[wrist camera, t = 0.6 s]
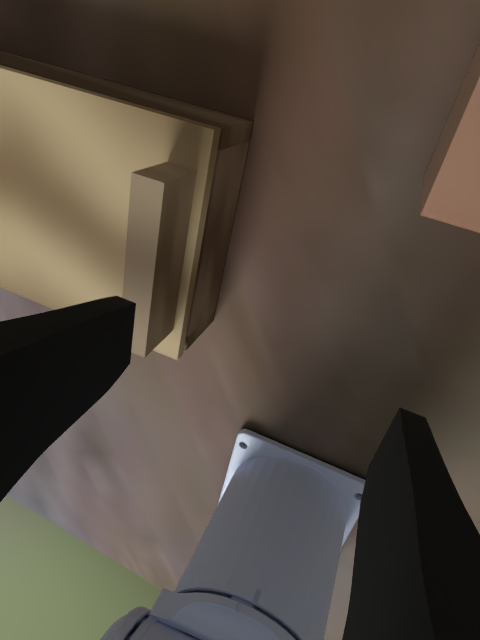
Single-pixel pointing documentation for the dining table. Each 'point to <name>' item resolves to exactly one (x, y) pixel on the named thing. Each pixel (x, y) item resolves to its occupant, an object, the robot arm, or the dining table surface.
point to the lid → (102, 203)
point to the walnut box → (223, 182)
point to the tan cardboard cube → (457, 160)
